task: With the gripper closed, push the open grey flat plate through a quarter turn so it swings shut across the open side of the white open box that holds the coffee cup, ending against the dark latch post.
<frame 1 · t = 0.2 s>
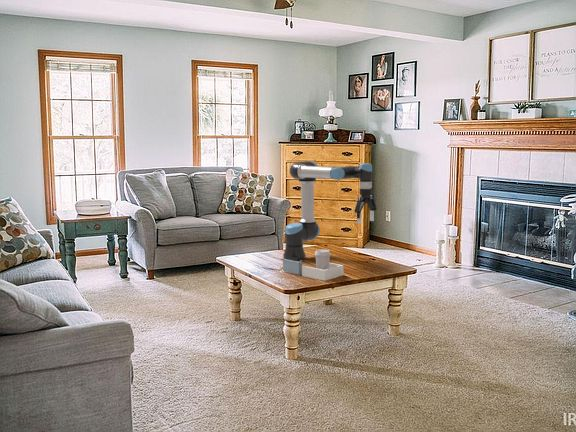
hand: (365, 222, 356), 28 cm above the table, fingers open, 13 cm apart
coffee cup: (322, 275, 336), resting in white open box
grey flat plate: (291, 266, 341), point 4 cm above the table, hinge at 90.0°
white open box: (322, 275, 336), on the table
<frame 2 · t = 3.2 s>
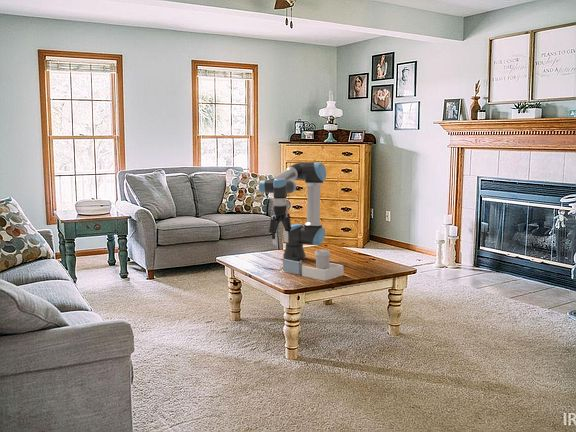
hand: (280, 243, 334), 19 cm above the table, fingers open, 9 cm apart
nothing on the table moved.
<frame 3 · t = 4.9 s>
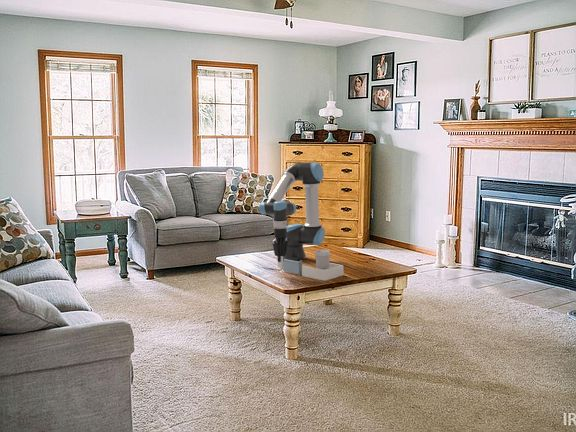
hand: (280, 267, 336), 5 cm above the table, fingers closed
nothing on the table moved.
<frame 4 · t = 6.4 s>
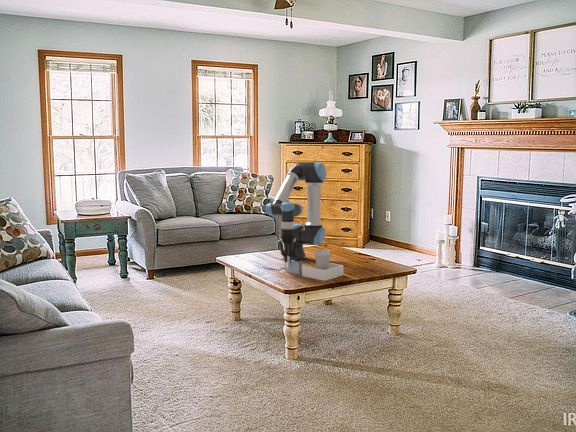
hand: (287, 267, 341), 4 cm above the table, fingers closed
grey flat plate: (292, 266, 342), point 4 cm above the table, hinge at 84.6°, touching gripper
everything else where it was.
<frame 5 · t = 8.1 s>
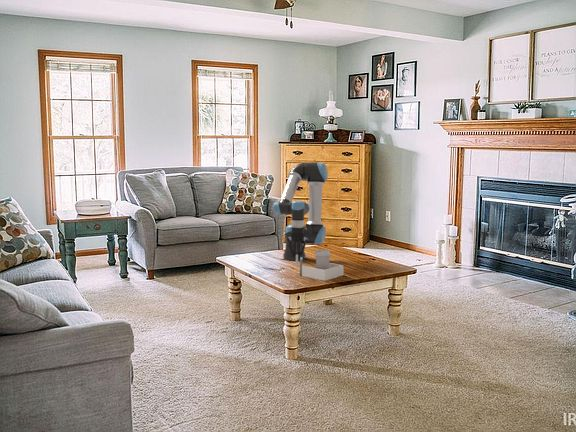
hand: (297, 265, 345), 4 cm above the table, fingers closed
grey flat plate: (301, 265, 344), point 4 cm above the table, hinge at 41.6°, touching gripper
everything else where it was.
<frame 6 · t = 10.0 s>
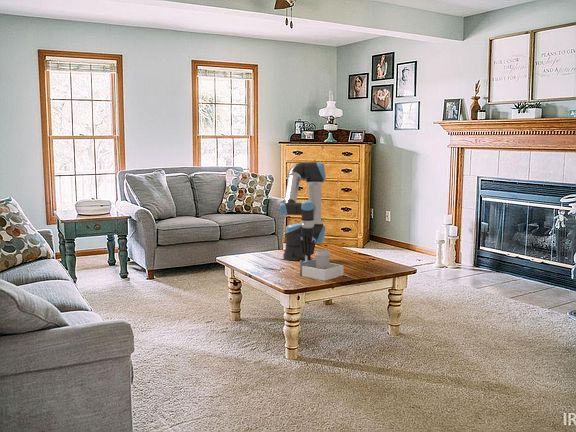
hand: (307, 265, 344), 4 cm above the table, fingers closed
grey flat plate: (309, 266, 342), point 4 cm above the table, hinge at 0.1°, touching gripper
everything else where it was.
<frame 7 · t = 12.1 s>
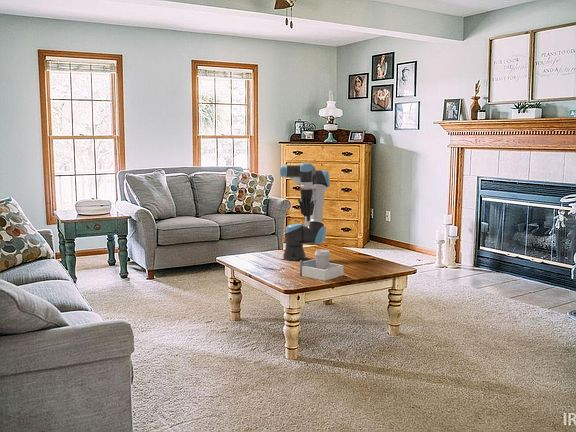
hand: (307, 226, 353), 26 cm above the table, fingers closed
grey flat plate: (309, 266, 342), point 4 cm above the table, hinge at -0.1°
everything else where it was.
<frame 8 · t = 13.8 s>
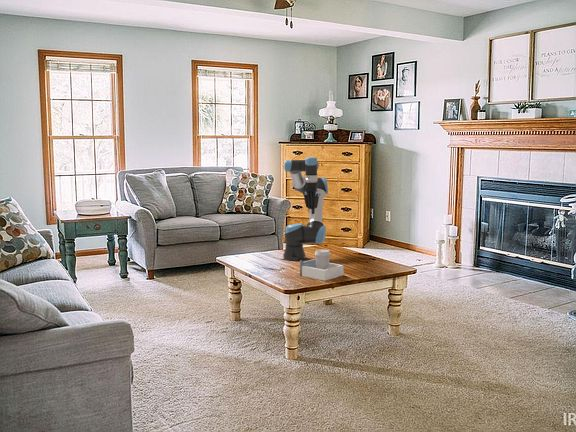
hand: (311, 218, 362), 29 cm above the table, fingers closed
nothing on the table moved.
at the end: grey flat plate at +0° (first picture: +90°); coffee cup moved 0.2 cm from its start; coffee cup tilted 0° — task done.
